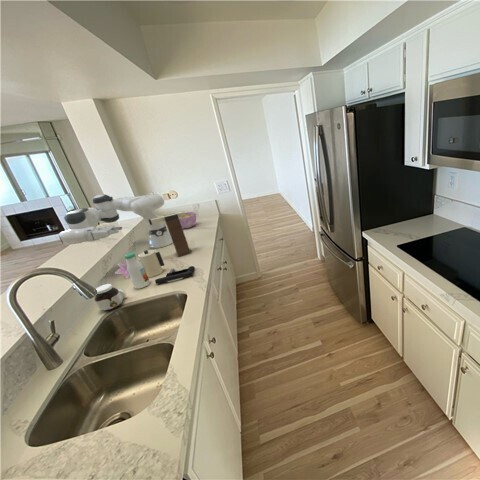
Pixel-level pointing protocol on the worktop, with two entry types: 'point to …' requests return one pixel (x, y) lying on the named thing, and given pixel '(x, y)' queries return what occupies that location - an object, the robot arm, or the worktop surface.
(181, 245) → the stand
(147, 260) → the kettle
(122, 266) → the lily
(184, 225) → the bowl of food
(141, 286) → the milk bottle
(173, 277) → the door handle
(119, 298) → the spread jar
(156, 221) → the switch bar
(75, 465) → the worktop surface
